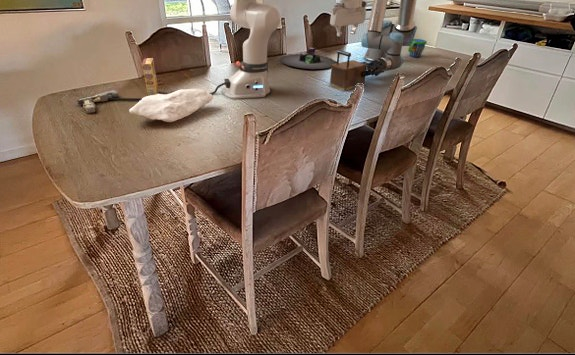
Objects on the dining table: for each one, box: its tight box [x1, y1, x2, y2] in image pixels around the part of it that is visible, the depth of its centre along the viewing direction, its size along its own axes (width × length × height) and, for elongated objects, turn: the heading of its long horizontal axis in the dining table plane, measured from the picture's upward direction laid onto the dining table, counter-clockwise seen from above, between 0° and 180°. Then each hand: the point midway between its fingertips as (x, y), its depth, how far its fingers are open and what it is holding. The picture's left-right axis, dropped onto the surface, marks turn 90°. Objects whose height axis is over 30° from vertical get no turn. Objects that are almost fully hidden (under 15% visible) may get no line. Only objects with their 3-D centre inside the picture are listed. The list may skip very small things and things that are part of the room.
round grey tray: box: [279, 46, 337, 70], centre depth 221 cm, size 35×35×9 cm
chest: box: [329, 66, 367, 92], centre depth 186 cm, size 16×10×10 cm, turn 129°
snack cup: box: [407, 38, 428, 58], centre depth 243 cm, size 16×10×10 cm
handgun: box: [76, 89, 120, 114], centre depth 155 cm, size 3×18×15 cm
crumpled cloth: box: [129, 88, 214, 123], centre depth 147 cm, size 24×35×9 cm
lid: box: [330, 49, 367, 71], centre depth 181 cm, size 16×10×8 cm, turn 129°
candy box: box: [141, 57, 160, 96], centre depth 163 cm, size 9×4×15 cm, turn 13°
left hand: (346, 35), depth 172 cm, fingers open, 8 cm apart
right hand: (353, 71), depth 187 cm, fingers open, 11 cm apart
